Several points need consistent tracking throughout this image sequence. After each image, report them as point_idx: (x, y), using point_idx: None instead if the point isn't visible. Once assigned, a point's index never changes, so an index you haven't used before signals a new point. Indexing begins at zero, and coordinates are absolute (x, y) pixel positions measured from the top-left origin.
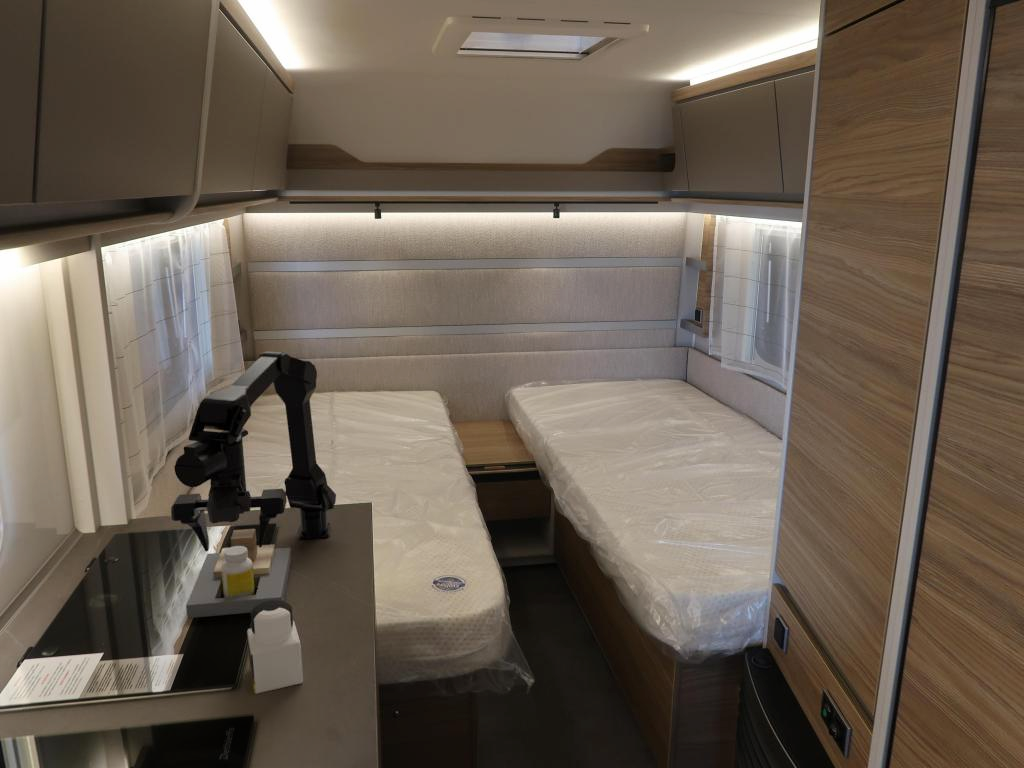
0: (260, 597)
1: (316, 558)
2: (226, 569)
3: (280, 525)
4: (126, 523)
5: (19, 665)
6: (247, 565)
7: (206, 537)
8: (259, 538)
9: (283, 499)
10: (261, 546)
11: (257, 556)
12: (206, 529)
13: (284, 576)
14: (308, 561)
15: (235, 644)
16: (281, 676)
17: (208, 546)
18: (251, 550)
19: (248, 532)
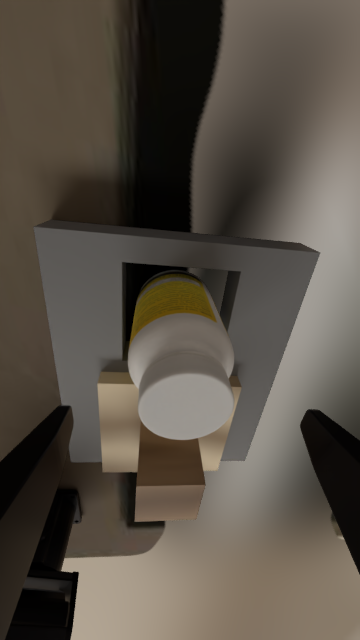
0: (104, 243)
1: (22, 432)
2: (218, 332)
3: (118, 523)
4: (338, 537)
5: None
6: (140, 344)
7: (344, 481)
8: (41, 448)
9: None
10: (57, 408)
11: (136, 433)
12: (352, 537)
13: (54, 349)
14: (37, 424)
15: (173, 2)
16: None
17: (307, 434)
18: (145, 443)
19: (153, 508)
